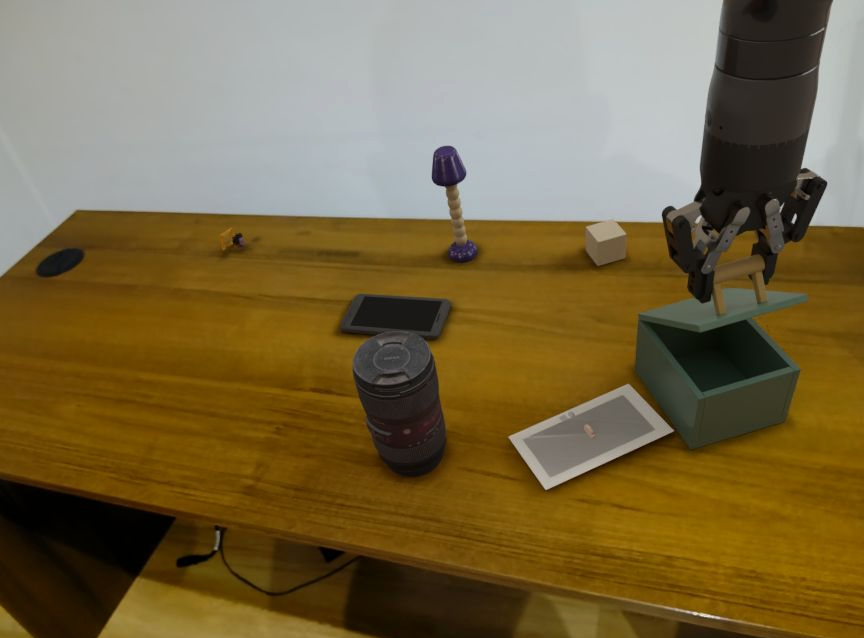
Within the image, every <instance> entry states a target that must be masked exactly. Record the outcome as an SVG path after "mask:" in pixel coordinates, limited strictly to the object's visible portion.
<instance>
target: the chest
mask: <svg viewBox="0 0 864 638" xmlns="http://www.w3.org/2000/svg"><path fill="white" fill-rule="evenodd" d="M635 341H636V344H635V355H634V357H635V359H634V369H633V370H634V372H635V373H636V374H637V377H639V378H640V380H641V382H642V383H643V384H644V386H645V387H646V388H647V390H648V392H649V393H650V394H651V396H652V397H653V399H654V400H655V402H656V403H657V404H658V406H659V407H660V409H661V410H662V411H663V413H664V414H665V416H666V418H667V419H668V420H669V421H670V423H671V425H672V426H673V427H674V429H675V430H676V431H677V433H678V435H679V436H680V437H681V439H682V440H683V441H684V443H685V444H686V446H687V447H688V449H689V450H690V451H692V450H694V449H699V448H702V447H705V446H708V445H711V444H714V443H718V442H721V441H726V440H729V439H732V438H734V437H738V436H742V435H745V434H749V433H751V432H752V433H753V432H755V431H758V430H762V429H766V428H768V427H771V426H775V425H779V424H781V423H785V422H787V419H788V415H789V411H790V408H791V404H792V402H793V398H794V394H795V390H796V388H797V384H798V380H799V377H800V374H801V371H802V368H801V367H800V366H799V365H798V364H797V363H796V362H795V361H794V360H793V359H792V358H791V357H790V356H789V355H788V353H786V352H785V350H784V349H783V348H782V347H780V346H779V344H778V343H777V342H776V341H775V340H774V339H773V338H772V337H771V336H770V335H769V334H768V333H767V332H766V331H765V330H764V329H763V328H762V326H761V325H759V324H758V323H757V321H756V320H754V317H752V318H749V319H746V320H742V321H739V322H735V323H732V324H728V325H725V326H721V327H718V328H715V329H711V330H708V331H704V332H701V333H699V332H695V331H690V330H685V329H681V328H676V327H671V326H667V325H662V324H657V323H653V322H648V321H643V320H639V319H637V328H636V340H635Z"/></svg>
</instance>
